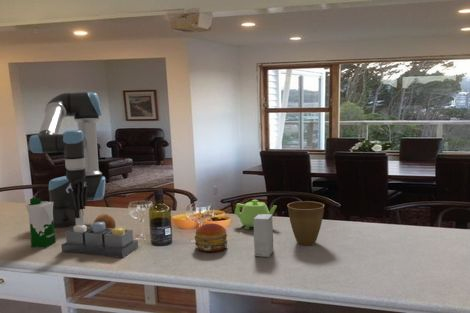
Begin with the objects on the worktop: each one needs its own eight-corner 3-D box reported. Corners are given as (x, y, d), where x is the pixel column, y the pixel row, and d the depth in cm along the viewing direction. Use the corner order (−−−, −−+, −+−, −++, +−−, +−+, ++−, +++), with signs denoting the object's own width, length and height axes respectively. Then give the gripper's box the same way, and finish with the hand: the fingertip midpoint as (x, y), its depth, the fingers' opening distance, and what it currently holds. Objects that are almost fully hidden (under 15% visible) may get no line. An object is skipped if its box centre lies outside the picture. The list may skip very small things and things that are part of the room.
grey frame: (80, 242, 190) (79, 224, 189) (138, 247, 181) (137, 228, 180) (61, 251, 178) (60, 232, 177) (122, 257, 170) (121, 237, 169)
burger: (189, 252, 174) (188, 227, 173) (203, 241, 187) (202, 218, 186) (220, 255, 170) (219, 230, 168) (232, 244, 182) (232, 221, 181)
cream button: (79, 235, 185) (78, 224, 184) (89, 236, 184) (88, 225, 183) (71, 239, 180) (70, 227, 180) (82, 240, 179) (81, 228, 178)
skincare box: (269, 257, 166) (268, 219, 164) (253, 256, 168) (252, 218, 166) (273, 250, 174) (273, 213, 172) (259, 249, 176) (258, 212, 174)
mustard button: (117, 238, 180) (116, 227, 179) (127, 239, 178) (127, 227, 178) (110, 242, 175) (109, 230, 174) (121, 243, 174) (120, 231, 173)
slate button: (97, 233, 182) (96, 221, 181) (108, 234, 181) (107, 222, 180) (90, 236, 177) (89, 224, 177) (101, 237, 176) (100, 225, 175)
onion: (89, 236, 198) (87, 214, 197) (109, 230, 205) (107, 210, 204) (100, 240, 192) (99, 218, 190) (120, 234, 199) (119, 213, 198)
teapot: (279, 223, 211) (278, 197, 209) (274, 231, 198) (274, 204, 196) (238, 221, 215) (237, 196, 214) (231, 229, 203) (230, 202, 201)
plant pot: (331, 241, 182) (331, 204, 180) (311, 251, 171) (311, 211, 169) (301, 234, 192) (300, 198, 190) (280, 243, 182) (280, 205, 179)
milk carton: (40, 240, 193) (36, 196, 191) (59, 241, 191) (55, 196, 189) (27, 247, 185) (23, 201, 182) (46, 248, 183) (42, 201, 180)
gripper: (77, 165, 185) (81, 220, 189) (56, 171, 173) (61, 229, 176) (93, 166, 183) (97, 221, 186) (73, 171, 171) (77, 230, 174)
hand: (79, 224), depth 181 cm, fingers closed
